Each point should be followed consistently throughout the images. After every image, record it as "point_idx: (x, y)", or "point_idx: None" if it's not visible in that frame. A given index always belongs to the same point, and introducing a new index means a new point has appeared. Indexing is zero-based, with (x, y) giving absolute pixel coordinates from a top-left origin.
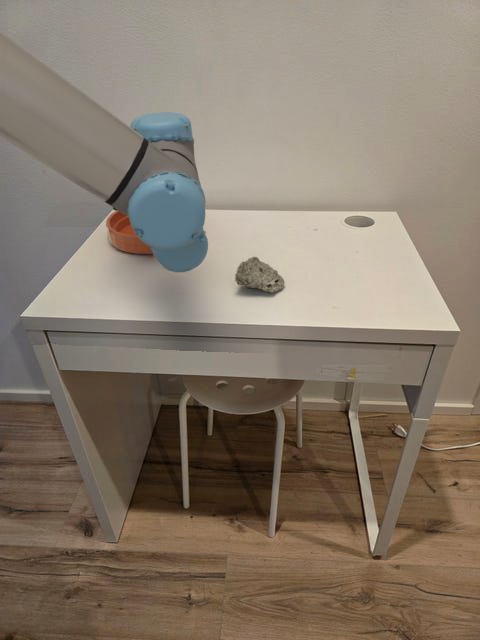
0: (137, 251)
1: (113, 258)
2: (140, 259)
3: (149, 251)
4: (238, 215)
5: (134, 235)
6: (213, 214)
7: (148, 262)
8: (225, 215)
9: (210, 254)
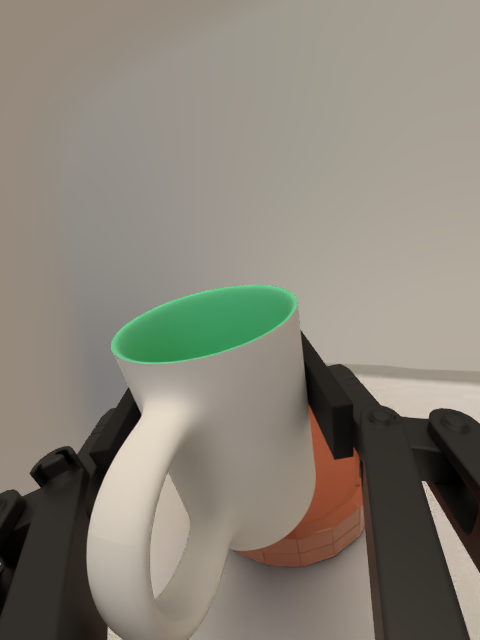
0: (236, 550)
1: (181, 551)
2: (242, 583)
3: (267, 562)
4: (440, 397)
5: None
6: (382, 390)
7: (263, 620)
8: (410, 395)
9: (473, 623)
